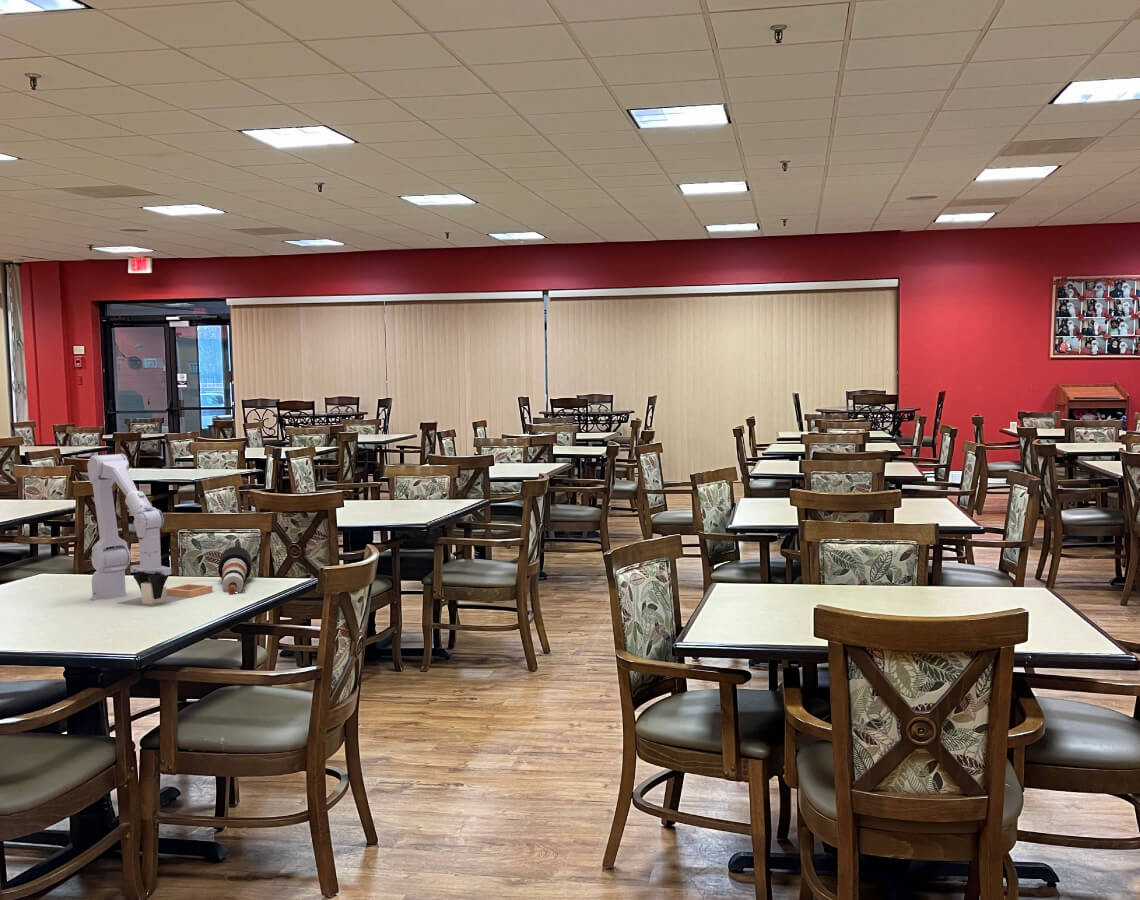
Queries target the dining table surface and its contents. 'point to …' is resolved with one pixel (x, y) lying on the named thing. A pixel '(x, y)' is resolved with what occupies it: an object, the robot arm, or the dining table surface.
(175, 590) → the frame
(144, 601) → the connector
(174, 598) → the board
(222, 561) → the cable
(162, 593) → the clip
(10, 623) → the dining table surface
